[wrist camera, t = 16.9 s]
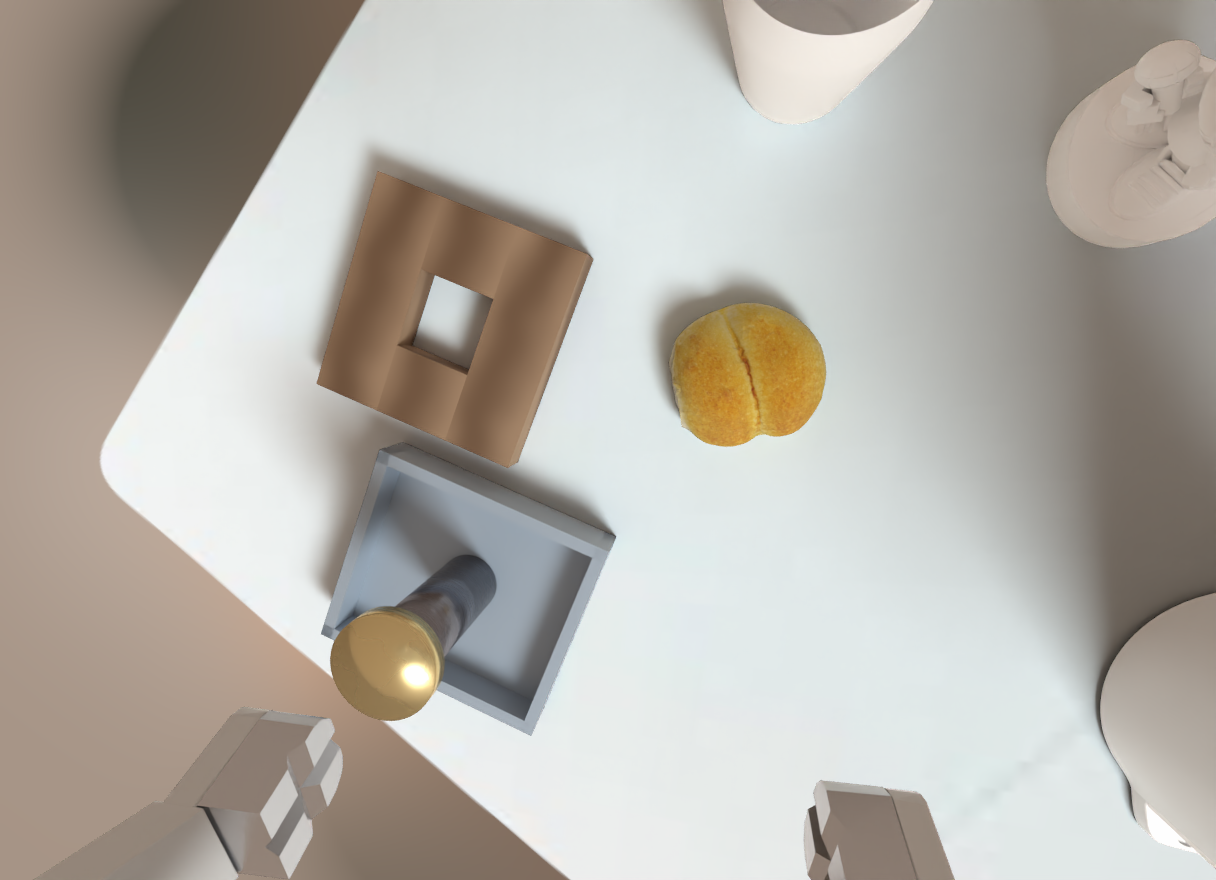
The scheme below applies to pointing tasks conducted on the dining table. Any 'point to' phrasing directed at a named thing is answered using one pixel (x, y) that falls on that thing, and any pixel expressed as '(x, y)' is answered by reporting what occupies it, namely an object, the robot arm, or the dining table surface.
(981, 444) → the dining table surface
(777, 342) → the bread roll
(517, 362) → the socket block
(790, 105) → the cup
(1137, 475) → the dining table surface
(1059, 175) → the character figurine
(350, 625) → the pin
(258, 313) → the dining table surface
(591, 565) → the tray
